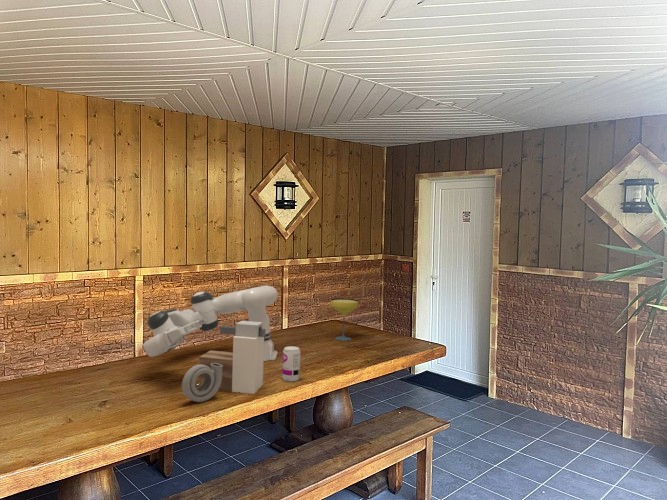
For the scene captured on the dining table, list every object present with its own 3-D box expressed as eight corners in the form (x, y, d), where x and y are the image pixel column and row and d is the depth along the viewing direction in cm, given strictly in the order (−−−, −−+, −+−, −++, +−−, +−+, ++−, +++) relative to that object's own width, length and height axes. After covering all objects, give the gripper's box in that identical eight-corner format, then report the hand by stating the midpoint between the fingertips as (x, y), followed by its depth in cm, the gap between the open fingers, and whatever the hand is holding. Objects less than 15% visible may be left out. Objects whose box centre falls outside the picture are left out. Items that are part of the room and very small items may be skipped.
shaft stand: (241, 383, 232) (243, 319, 230) (262, 385, 230) (264, 321, 228) (231, 391, 220) (233, 324, 218) (254, 394, 218) (255, 326, 216)
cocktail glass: (325, 336, 332) (327, 298, 331) (351, 335, 338) (353, 298, 336) (334, 342, 315) (335, 302, 314) (361, 341, 321) (362, 302, 319)
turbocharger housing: (187, 407, 200) (188, 370, 199) (179, 403, 204) (179, 366, 203) (223, 397, 212) (224, 362, 211) (214, 393, 217) (215, 359, 216)
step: (209, 380, 234) (210, 350, 233) (241, 383, 232) (242, 353, 231) (198, 388, 222) (199, 357, 222) (231, 391, 220) (232, 360, 219)
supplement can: (283, 382, 235) (284, 350, 234) (280, 377, 243) (281, 346, 242) (300, 381, 237) (302, 350, 236) (297, 376, 245) (298, 345, 244)
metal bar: (222, 332, 227) (222, 325, 227) (265, 335, 224) (265, 328, 223) (219, 333, 224) (220, 326, 224) (263, 337, 221) (263, 330, 221)
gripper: (188, 337, 239) (212, 324, 237) (167, 347, 219) (193, 333, 217) (182, 325, 240) (206, 312, 237) (160, 334, 220) (186, 320, 217)
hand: (200, 322), depth 227 cm, fingers open, 8 cm apart
